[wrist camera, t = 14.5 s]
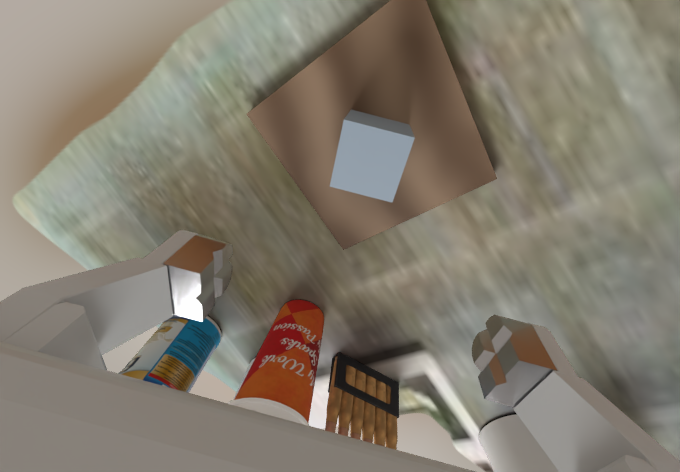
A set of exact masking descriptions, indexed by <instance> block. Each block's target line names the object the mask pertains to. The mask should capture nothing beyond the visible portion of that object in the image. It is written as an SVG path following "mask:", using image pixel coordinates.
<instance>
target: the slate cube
mask: <svg viewBox="0 0 680 472" xmlns="http://www.w3.org/2000/svg"><path fill="white" fill-rule="evenodd" d="M414 139H415V137H414V134H413V132H412V129H411V127H410V125H409V124H405V123H401V122H398V121H394V120H390V119H386V118H382V117H378V116H374V115H370V114H367V113H363V112H359V111H355V110H350V112H349V113H348V114H347V116H346V117H345V119H344V121H343V126H342V130H341V135H340V140H339V145H338V149H337V154H336V159H335V164H334V168H333V173H332V178H331V182H330V187H333V188H337V189H341V190H345V191H349V192H353V193H357V194H361V195H364V196H368V197H372V198H376V199H380V200H384V201H388V202H393V199H394V196H395V194H396V191H397V188H398V185H399V182H400V179H401V176H402V173H403V170H404V168H405V165H406V162H407V159H408V156H409V153H410V150H411V147H412V145H413V142H414Z"/></svg>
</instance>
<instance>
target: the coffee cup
mask: <svg viewBox="0 0 680 472" xmlns="http://www.w3.org/2000/svg"><path fill="white" fill-rule="evenodd" d="M323 325H324V315H323V313H322V311H321V310H320V308H319V307H317V306H316V305H315V304H313V303H311V302H309V301H306V300H291V301H289V302H287V303H286V304H284V306H283V307H282V308H281V310H280V312H279V314H278V316H277V317H276V319H275V321H274V323H273V325H272V327H271V329H270V331H269V333H268V335H267V337H266V339H265V340H264V342H263V344H262V346H261V348H260V350H259V352H258V354H257V356H256V358H255V360H254V362H253V364H252V366H251V368H250V370H249V372H248V374H247V376H246V378H245V380H244V382H243V384H242V385H241V387H240V389H239V391H238V393H237V395H236V397H235V399H234V400H231V401H230V402H229V403H227V404H231V405H234V406H238V407H242V408H245V409H249V410H253V411H256V412H260V413H263V414H267V415H271V416H274V417H278V418H282V419H285V420H289V421H293V422H296V423H300V424H304V425H307V426H309V424H308V421H309V415H310V409H311V402H312V396H313V390H314V384H315V377H316V371H317V365H318V359H319V352H320V346H321V339H322V333H323Z"/></svg>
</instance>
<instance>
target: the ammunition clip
mask: <svg viewBox="0 0 680 472" xmlns="http://www.w3.org/2000/svg"><path fill="white" fill-rule="evenodd" d="M328 392H329V398H328V404H327V419H326V428H325V430H326V431H329V432H333V433H335V428H336V424H337V418H338V415H339V427H338V434H340V435H344V436H348V430H349V424H350V425H351V434H350V435H351V438H355V439H359V440H360V437H361V429H362V434H363V438H362V441H366V442H370V443H372V442H373V434H374V444H377V445H380V446H384V447H385V442H386V447H388V448H391V449H395V450H396V444H397V418H399V383H398V382H396V381H394V380H392V379H390V378H389V377H387V376H385V375H383V374H381V373H379V372H377V371H375V370H373V369H371V368H369V367H367V366H365V365H363V364H362V363H360V362H358V361H356V360H354V359H352V358H350V357H348V356H346V355H344V354H342V353H338V354H337V355H336V356H334V357H333V358H332V366H331V374H330V382H329V390H328Z"/></svg>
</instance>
